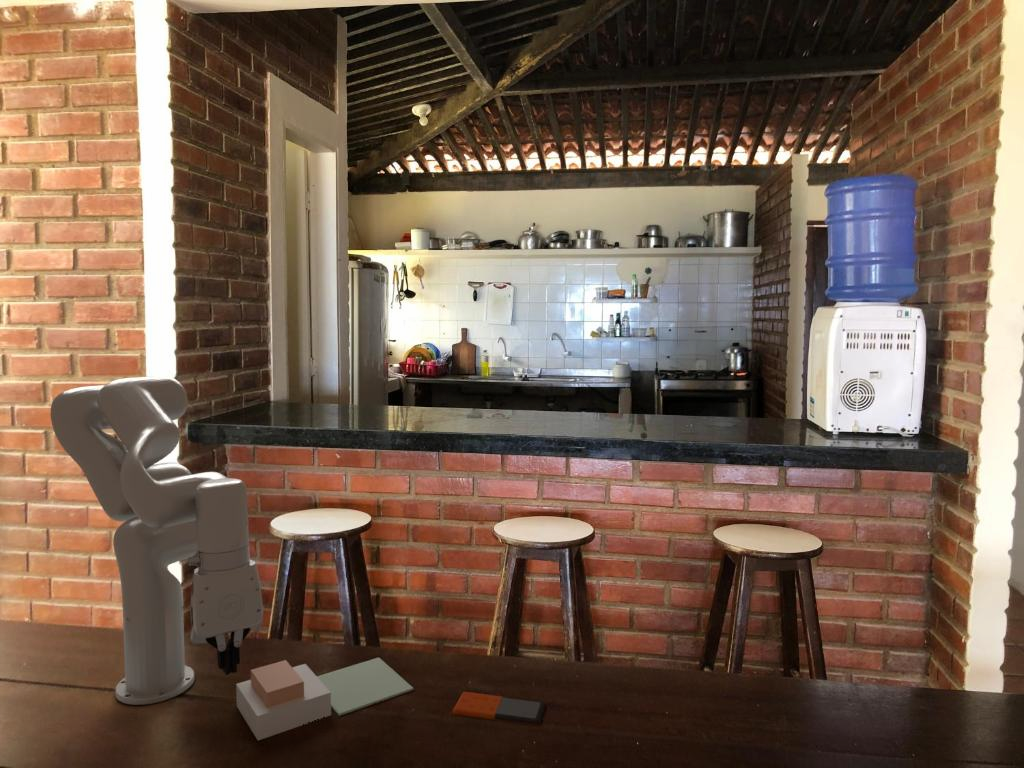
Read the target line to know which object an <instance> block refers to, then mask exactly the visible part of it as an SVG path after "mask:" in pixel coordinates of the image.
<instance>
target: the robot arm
mask: <svg viewBox="0 0 1024 768" xmlns="http://www.w3.org/2000/svg"><path fill="white" fill-rule="evenodd" d="M188 402H189V401H188V394H187V392H186V389H185V387H184V386H183V385H182V384H181V383H180V382H179V380H177V379H175V378H174V377H171V376H168V375H167V376H165V375H163V376H162V375H159V376H141V377H140V376H139V377H124V378H118V379H114V380H112V381H109V382H108V383H106V384H100V385H99V384H98V385H85V386H80V387H74V388H70V389H66V390H64V391H62V392H60V393H59V394H58V395H56V396H55V397H54V398H53V400H52V402H51V405H50V421H51V426H52V429H53V432H54V435H55V436H56V440H57V441H58V442H59V444H60V446H61V447H62V449H63V450H64V451H65V452H66V453H67V455H68V456H70V458H71V459H72V460H73V461H74V462H75V463H76V464H77V465H78V466H79V468H80V469H81V470H82V472H83V473H84V476H85V478H86V479H87V482H88V483H89V486H90V487H91V489H92V491H93V493H94V495H95V496H96V498H97V501H98V502H99V505H100V506H101V508H102V510H103V511H104V513H105V514H106V516H107V517H109V518H110V519H111V520H112V521H115V522H123V523H121V524H120V526H118V528H117V529H116V530H115V532H114V535H113V539H112V544H113V545H112V546H113V550H114V556H115V560H116V563H117V566H118V573H119V579H120V580H119V581H120V587H121V588H120V589H121V605H122V606H121V609H122V622H123V623H122V625H123V626H122V629H123V651H124V653H123V654H124V657H123V658H124V675H125V677H123V678H122V679H121V680H120V681H119V682H118V683H117V685H116V686H115V698H116V699H117V700H118V701H119V702H121V703H123V704H127V705H131V706H133V705H134V706H137V705H138V706H139V705H140V706H142V705H151V704H156V703H160V702H163V701H168V700H170V699H172V698H174V697H176V696H179V695H181V694H182V693H184V692H185V691H186V690H188V689H189V688H190V687H191V686H192V685H193V684H194V681H195V679H196V678H195V671H194V669H193V668H191V667H190V666H189V665H186V662H185V657H186V656H185V636H184V635H185V633H184V632H185V629H184V599H183V595H184V594H183V588H182V584H181V582H180V580H179V578H177V577H176V576H175V575H174V574H173V573H172V572H170V570H169V568H168V567H169V566H170V565H172V564H175V563H178V562H180V561H185V560H187V564H188V566H190V567H191V566H195V567H197V568H194V570H193V575H192V581H191V593H190V606H189V607H190V608H189V609H190V610H189V611H190V612H189V613H190V616H189V617H190V626H191V631H190V637H189V640H190V641H191V643H192V644H193V645H194V644H196V645H199V644H200V645H201V644H209V645H210V646H211V647H213V648H215V649H216V651H217V653H216V657H217V666H218V669H219V670H222V672H224V674H225V676H228V675H230V674H231V673H232V674H235V673H237V672H238V666H237V665H239V664H241V658H240V656H241V655H240V654H241V652H240V647H241V645H242V644H243V641H244V640H245V639H246V637H247V636H248V634H249V633H250V632H253V631H254V630H256V629H258V628H260V627H262V626H263V622H264V621H263V619H264V605H263V596H262V588H261V587H262V586H261V582H260V577H259V571H258V567H257V563H256V562H255V561H254V560H253V559H251V556H250V555H251V554H250V552H251V551H250V538H249V537H250V535H249V513H248V512H249V510H248V489H247V484H246V482H244V481H243V480H241V479H239V478H231V477H229V478H228V477H227V476H225V475H224V474H222V473H220V472H218V471H217V472H216V471H205V472H198V473H192V472H191V470H189V469H188V468H187V467H186V466H184V465H182V464H180V463H178V462H163V463H159V462H160V461H162V460H163V459H164V458H166V457H168V456H169V455H170V454H171V453H172V452H174V450H175V449H176V448H177V446H178V444H179V443H180V439H181V438H180V437H181V432H180V429H179V427H178V426H177V424H176V423H175V422H174V421H176V420H178V419H180V418H181V417H183V416H184V414H186V411H187V409H188V404H189V403H188ZM109 429H110V430H111V429H112V430H113V432H114V433H115V434H116V437H114V436H113V435H111V434H109V433H106V432H105V431H103V430H109ZM117 437H118V438H117ZM225 634H229V640H228V642H227V643H226V638H225Z"/></svg>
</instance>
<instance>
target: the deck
mask: <svg viewBox="0 0 1024 768" xmlns="http://www.w3.org/2000/svg"><path fill="white" fill-rule="evenodd" d="M291 667H292V668H293V669H294V670H295V672H296V673H297V674H298V675H299V676H300V677H301V679H302V680H303V681H304V696H303V697H299V698H296V699H293V700H290V701H287V702H284V703H281V704H278V705H274V706H271V707H268V708H267V707H266V705H265V704H264V702H263V701H262V699H261V698H260V696H259V695H258V694H257V692H256V691H255V689H254V688H253V686H252V685H251V679H248V680H244V681H241V682H238V683H236V684H235V686H236V687H235V688H236V690H235V691H236V692H235V693H236V707H237V709H238V711H239V713H240V714H241V716H242V717H243V719H244V721H245V722H246V724H247V726H248V727H249V729H250V730H251V732H252V733H253V735H254V737H255V739H256V740H257V741H261V740H263V739H266V738H270V737H273V736H275V735H278V734H281V733H284V732H287V731H290V730H293V729H295V728H298V727H301V726H303V724H304V725H307V724H309V723H308V722H310V723H312V721H313V722H315V721H314V720H316V721H318V720H317V719H319V720H322V719H324V718H323V717H325V718H327V717H330V716H332V707H331V692H330V691H329V690H328V689H327V688H326V686H325V685H324V684H323V683H322V682H321V681H320V680H319V679H318V677H317V676H318V675H316V674H315V673H314V672H313V671H312V669H311V668H310V667H309V666H308V665H307V664H306V663H303V664H299V665H296V666H291ZM321 718H322V719H321Z"/></svg>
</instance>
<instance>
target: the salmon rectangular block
mask: <svg viewBox="0 0 1024 768" xmlns="http://www.w3.org/2000/svg"><path fill="white" fill-rule="evenodd" d="M292 667H293V666H292V665H291V664H290V663H289V662H288V661H287V660H286V659H284V660H280V661H277V662H275V663H270V664H267V665H264V666H259V667H256V668H252V669H250V680H251V685H252V686H253V688H254V689H255V691H256V692H257V694H258V695H259V696H260V698H261V699H262V701H263V702H264V704H265V705H266V707H267V708H268V707H271V706H274V705H278V704H281V703H284V702H287V701H290V700H293V699H296V698H299V697H303V696H304V681H303V680H302V679H301V677H300V676H299V675H298V674H297V673H296V672H295V670H294V669H293V668H292Z"/></svg>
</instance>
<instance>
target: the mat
mask: <svg viewBox="0 0 1024 768" xmlns="http://www.w3.org/2000/svg"><path fill="white" fill-rule="evenodd" d="M316 676H317V677H318V679H319V680H320V681H321V682H322V683H323V684H324V685H325V686H326V688H327V689H328V690H329V691H330V692H331V709H333V711H334V712H335V713H336V714H337V716H338V717H340V716H343V715H346V714H348V713H352V712H354V711H358V710H360V709H364V708H367V707H368V706H372V705H375V704H378V703H380V701H381V702H383V701H385V700H389V699H392V698H394V697H397V696H400V695H404V694H405V693H409V692H411V691H414V687H413V686H412V685H411V684H409V683H408V682H407V681H406V680H405V679H404V678H403V677H402V676H400V675H399V674H398V673H397V672H396V670H394V669H393V668H392V667H390V666H389V665H388V664H387V663H386V662H385V661H384V660H383V659H381V658H380V657H376V658H372V659H370V660H367V661H362V662H359V663H356V664H352V665H350V666H347V667H343V668H339V669H336V670H334V671H330V672H328V673H324V674H321V675H316ZM374 703H375V704H374Z"/></svg>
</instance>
